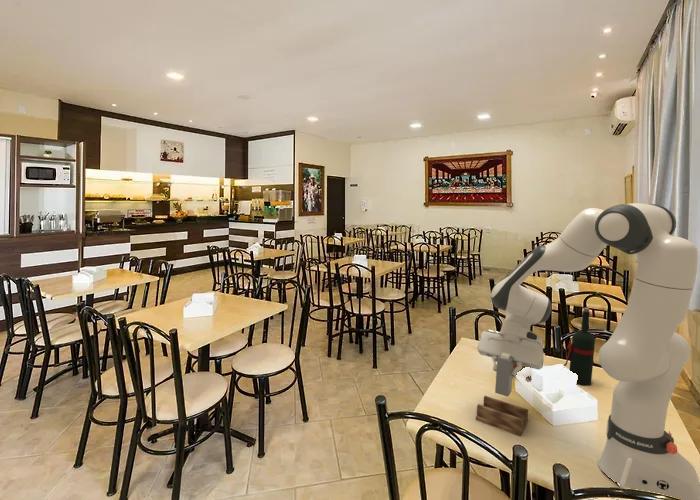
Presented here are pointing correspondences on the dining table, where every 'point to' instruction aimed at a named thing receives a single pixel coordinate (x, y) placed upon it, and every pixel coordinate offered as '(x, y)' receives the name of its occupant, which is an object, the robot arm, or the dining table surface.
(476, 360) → the dining table surface
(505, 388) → the post
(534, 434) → the dining table surface
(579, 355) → the wine bottle
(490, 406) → the wooden card holder
